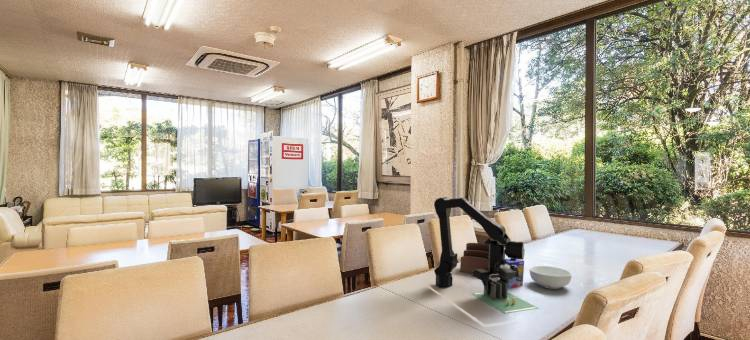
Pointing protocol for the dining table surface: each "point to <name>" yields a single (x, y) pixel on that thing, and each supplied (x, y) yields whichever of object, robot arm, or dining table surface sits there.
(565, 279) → the cereal bowl
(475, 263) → the letter holder
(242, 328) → the dining table surface
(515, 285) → the ink cartridge box
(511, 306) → the board
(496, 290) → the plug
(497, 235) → the robot arm
